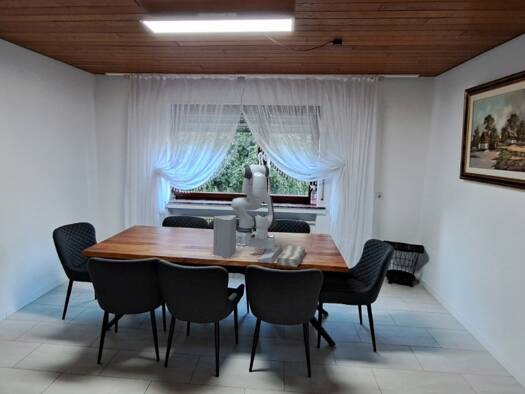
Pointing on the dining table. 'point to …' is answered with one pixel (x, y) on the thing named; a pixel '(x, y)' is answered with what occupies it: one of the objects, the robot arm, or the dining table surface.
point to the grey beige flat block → (291, 256)
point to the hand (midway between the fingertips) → (261, 253)
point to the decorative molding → (270, 255)
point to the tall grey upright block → (224, 236)
